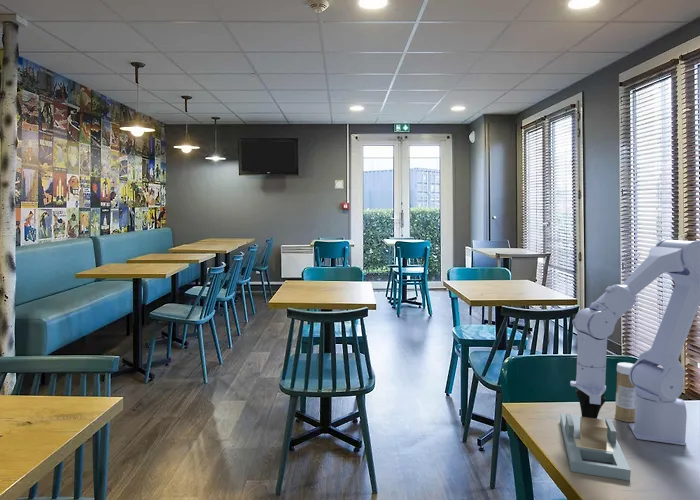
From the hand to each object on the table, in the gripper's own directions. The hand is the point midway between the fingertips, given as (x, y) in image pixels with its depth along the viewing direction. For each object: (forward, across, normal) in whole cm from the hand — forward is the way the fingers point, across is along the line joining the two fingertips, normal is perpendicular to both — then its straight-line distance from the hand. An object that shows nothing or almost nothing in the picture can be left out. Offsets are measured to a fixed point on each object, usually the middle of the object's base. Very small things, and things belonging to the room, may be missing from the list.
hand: (588, 425), depth 110 cm
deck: (+3, +5, 0) cm, 6 cm away
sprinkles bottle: (+3, -15, +10) cm, 18 cm away
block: (+1, +7, 0) cm, 7 cm away
